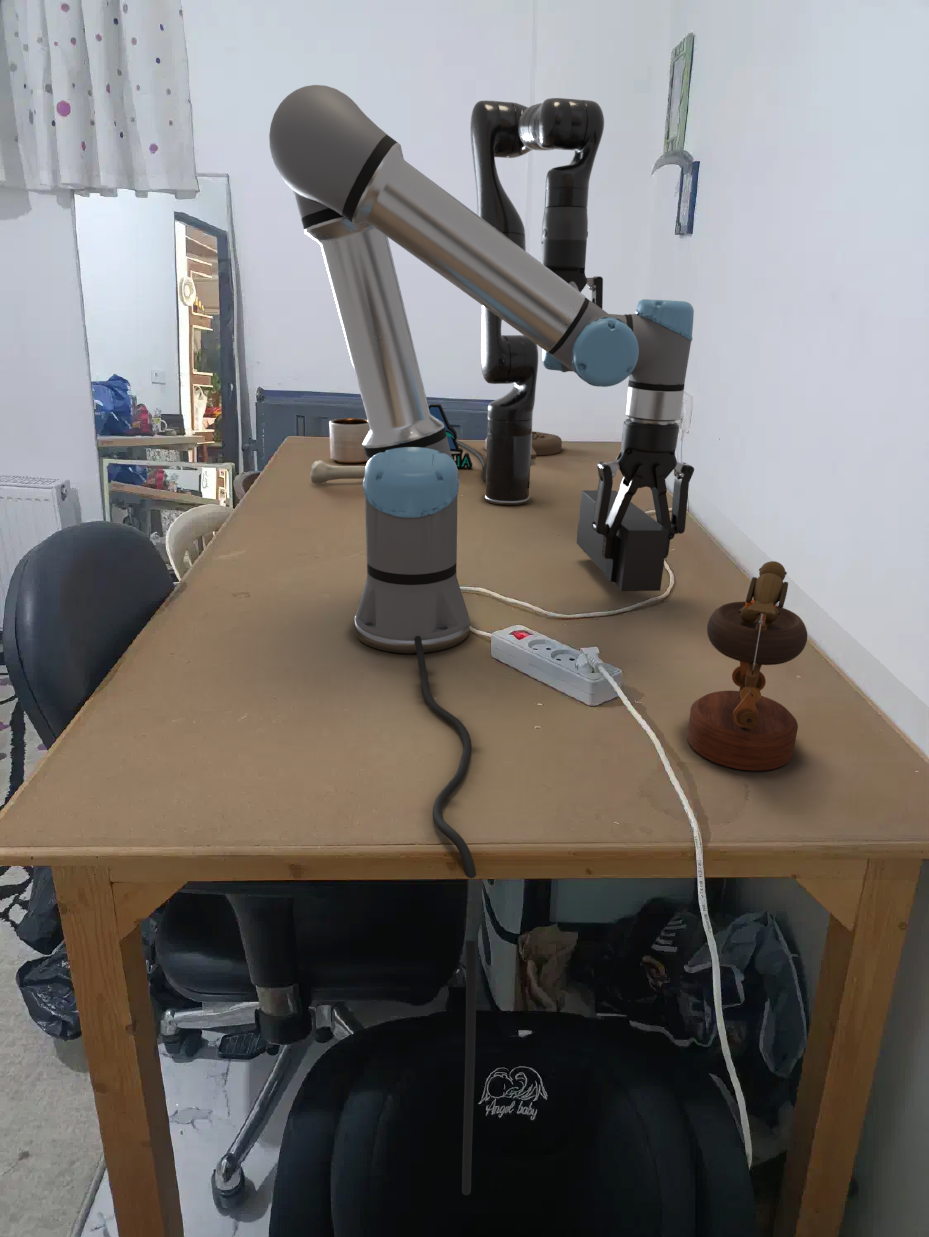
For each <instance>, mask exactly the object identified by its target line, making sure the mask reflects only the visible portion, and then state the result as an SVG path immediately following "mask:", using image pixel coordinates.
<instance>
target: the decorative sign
mask: <svg viewBox="0 0 929 1237" xmlns="http://www.w3.org/2000/svg"><path fill="white" fill-rule="evenodd" d="M428 407H429V411H430V414H431V415H432V416H433V417H435V418H436V419H438V420H440V421H441V422H443V424H444V426H445V431H446V435H447V439H448V443H449V447H450V451H451V456H452V457H453V460H454V462H455V463H456V466H457V469H465V468H466V469H472V468H473V465H474V464H473V462H472V459H471V456H470V454H469V452H465V453H464V449H463V448H462V447H459V446H460V445H458V444H457V441H456V440H458V433H457V431H456V429H455V428H454V427H453V426H451V424H450V423H449V420H448V418H447V416H446V413H445V411H444V409H443V405H442V404H441V403H430V404H428ZM463 453H464V454H463Z"/></svg>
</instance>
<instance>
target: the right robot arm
mask: <svg viewBox="0 0 929 1237" xmlns="http://www.w3.org/2000/svg"><path fill="white" fill-rule="evenodd" d="M603 112H604V111H603V109H602V107H601V105H600V104H599V103H598V102H597V101H594V100H589V99H575V98H563V97H550V98H546V99H545V100H544V101H543V102H540V103H535V104H532V105H530V106H529V107H528V106H526V105H524V104H520V103H518V102H511V101H498V100H479V101H477V102H476V103H475V104H474V106H473V108H472V111H471V115H470V129H469V130H470V145H471V155H472V164H473V172H474V174H473V175H474V181H475V191H476V209H477V210H476V212H477V213H476V214H477V215H478V216H479V217H481V218H482V219H483V220H485V221H486V222H487V223H489V224H490V225H491V226H493V227H494V228H495V229H497V230H498V231H499V232H501V233H502V234H503V235H505V236H506V237H507V238H509V239H510V240H511V241H513V242H514V243H515V244H517V245H518V246H519V247H521V248H522V249H523V250H525V251H526V252H527V246H526V243H527V242H526V229H525V225H524V222H523V220H522V217H521V216H520V215H521V214H520V213H519V212H518V210H517V208H516V207H515V205H514V204H513V202H512V200H511V199H510V197H509V196H508V194H507V192H506V191H505V189H504V186H503V184H502V182H501V180H500V176H499V173H498V169H497V165H496V158H505V159H514V158H519V157H522V156H524V155H526V154H529V153H530V152H531V151H539V152H540V151H541V152H543V151H554V150H562V151H574V153H573V154H574V155H573V157H572V160H571V161H570V163H568V164H565V165H559V166H555V167H553V168H551V169H549V170H548V171H547V173H546V178H545V188H544V189H545V191H544V209H543V210H544V211H543V217H542V222H541V224H542V225H541V242H540V243H541V244H540V245H541V246H540V263H542V264H543V265H544V266H546V267H547V268H548V269H550V270H551V271H552V272H554V273H555V274H556V275H558V276H559V277H560V278H562V279H563V280H564V281H566V282H567V283H568V284H570V285H571V286H572V287H574V288H575V289H576V290H578V291H579V292H580V293H582V292H583V290H584V289H585V287H586V286H588V290H590V291H591V301H592V302H593V303H595V304H596V305H597V306H599V307H600V308H601V309H603V306H604V305H603V303H604V301H603V300H604V299H603V296H604V294H603V293H604V278H603V277H602V276H601V275H600V276H599V275H595V276H593V277H587V276H586V259H587V246H588V245H587V243H588V237H589V231H588V229H589V217H588V205H589V192H590V191H589V190H590V189H589V188H590V180H591V176H592V171H593V167H594V164H595V160H596V156H597V154H598V150H599V147H600V144H601V141H602V138H603V134H604V129H605V116H604V113H603ZM480 318H481V320H480V322H481V323H480V367H481V374H482V376H483V379H484V381H485V382H486V383H488V384H491V385H502V384H503V385H509V384H513V386H512V388H511V390H510V391H509V392H508V393H506V394H505V395H503V396H501V397H499V398H497V399H495V400H493V401H491V402H489V403H488V405H487V415H486V416H487V417H486V418H487V422H486V438H487V450H486V458H484V456H483V455H481V453H479V451H477V450H476V449H475V448H473V447H471V445H470V446H469V445H468V444H466V443H464V442H462V441H460V440H458V439H456V441H457V444H458V446H460V447H461V448H464V449H466V450H468V451H470V452H471V453H473V455H475V456H476V457H477V458H478V459H479V460H480V462H481V465H482V474H481V477H482V479H483V481H484V483H485V494H484V500H485V502H487V503H490V504H494V505H500V506H520V505H524V504H527V503H529V502H530V486H531V481H532V480H531V462H532V461H531V460H532V459H531V443H532V432H533V417H534V416H533V415H534V414H533V413H534V408H535V403H536V391H537V390H536V389H537V380H538V371H539V348H538V347H539V346H538V345H537V344H535V343H534V342H533V341H531V340H530V339H529V338H527V337H526V336H524V335H523V334H502V323H503V320H502V319H501V318H499V317H498V316H497V315H495V314H494V313H493V312H491V311H490V310H488V309H487V308H486V307H484V306H483V305H481V316H480ZM485 459H486V461H485Z"/></svg>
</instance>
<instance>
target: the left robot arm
mask: <svg viewBox="0 0 929 1237" xmlns="http://www.w3.org/2000/svg"><path fill="white" fill-rule="evenodd" d="M268 139H269V140H268V141H269V151H270V156H271V159H272V162H273V165H274V167H275V169H276V171H277V173H278V175H279V176H280V178H281V179H282V180H283V182H284V183H285V184H286V185H287V186H288V187H289V188H290V189H291V190H292V192H293V195H294V200H295V202H296V207H297V210H298V214H299V218H300V220H301V224H302V227H303V231H304V234H305V235H307V236H308V237H309V238H311V239H312V240H314V241H316V242H317V243H318V244H319V245H320V247H321V252H322V256H323V259H324V260H323V261H324V264H325V267H326V271H327V274H328V278H329V279H328V280H329V282H330V285H331V289H332V293H333V297H334V301H335V304H336V305H335V306H336V308H337V312H338V316H339V319H340V324H341V326H342V330H343V334H344V337H345V341H346V345H347V349H348V353H349V356H350V361H351V364H352V367H353V371H354V375H355V379H356V382H357V386H358V389H359V394H360V397H361V402H362V405H363V408H364V412H365V416H366V419H367V420H368V423H369V427H370V431H369V433H368V435H367V437H366V438H365V440H364V442H363V447H364V451H365V454H366V458H367V462H366V465H365V466H366V467H365V477H364V479H362V480H363V481H362V490H363V493H364V502H365V504H364V505H365V508H364V509H365V541H366V542H365V543H366V544H365V545H366V547H365V548H366V579H365V584H364V586H363V589H362V592H361V596H360V600H359V602H358V606H357V609H356V612H355V615H354V633H355V636H356V638H357V639H358V640H359V641H360V642H362V643H363V644H365V645H367V646H368V647H371V648H374V649H377V650H380V651H384V652H390V653H396V654H397V653H398V654H416V657H417V663H418V670H419V676H420V682H421V691H422V695H423V697H424V700H425V702H426V703H427V705H428V706H429V707H430V709H431V710H432V711H433V712H434V713H435V714H436V715H438V716H439V717H441V718H442V719H443V720H445V721H447V722H448V723H449V724H450V725H452V726H453V727H454V728H455V729H456V730H457V732H458V733H459V735H460V737H461V740H462V753H461V758H460V761H459V765H458V768H457V770H456V773H455V774H454V775H453V777H452V778H451V779H450V781H449V782H448V783H447V784H446V785H445V786H444V787H443V788H442V789H441V791H440V792H439V793H438V795H437V796H436V798H435V800H434V803H433V806H432V820H433V822H434V824H435V826H436V828H437V829H438V830H439V831H440V832H441V833H442V834H443V835H444V836H445V837H446V838H447V839H448V840H450V842H451V843H453V845H454V846H455V847H456V849H457V850H458V853H459V855H460V858H461V860H462V864H463V870H464V873H465V876H466V877H467V878H468V879H474V878H475V877H476V876H477V872H476V867H475V862H474V859H473V855H472V853H471V851H470V848H469V846H468V844H467V842H466V841H465V840H464V839H463V837H462V836H461V834H460V833H458V832H457V831H456V830H455V829H454V828H453V827H451V825H450V824H448V823H447V822H446V821H445V819H444V817H443V808H444V805H445V803H446V801H447V799H449V797H450V796H451V795H452V794H453V792H454V791H455V790H456V789H457V787H458V786H459V785H460V784H461V783H462V781H463V780H464V778H465V776H466V774H467V771H468V768H469V764H470V761H471V755H472V748H473V746H472V739H471V736H470V733H469V731H468V729H467V728H466V726H465V725H464V724H463V722H462V721H461V720H460V719H459V718H457V717H456V716H455V715H453V714H452V713H451V712H449V711H448V710H446V709H444V708H443V707H442V706H441V705H440V704H438V702H436V700H435V699H434V697H433V695H432V692H431V688H430V680H429V676H428V670H427V665H426V659H425V653H433V652H439V651H443V650H446V649H449V648H452V647H455V646H457V645H458V644H460V643H462V642H463V641H464V640H466V639H467V637H468V636H469V634H470V615H469V612H468V608H467V606H466V601H465V599H464V596H463V593H462V589H461V586H460V583H459V581H458V577H457V561H458V560H457V559H458V558H457V557H458V556H457V554H458V493H459V490H460V475H459V474H460V473H459V470H458V469H459V468H457V466H456V463H455V462H454V461H455V459H454V460H453V457H452V456H451V451H450V447H449V443H448V439H447V435H446V431H445V426H444V424H443V422H441V421H440V420H438V419H436V418H435V417H433V416H432V415H431V414H430V411H429V403H428V399H427V393H426V390H425V386H424V382H423V378H422V374H421V370H420V366H419V361H418V357H417V352H416V349H415V344H414V341H413V336H412V333H411V328H410V324H409V319H408V315H407V311H406V307H405V303H404V299H403V295H402V290H401V287H400V281H399V278H398V274H397V270H396V265H395V261H394V258H393V253H392V250H391V244H390V242H389V239H390V240H391V241H393V242H394V243H396V245H398V246H399V247H400V248H403V250H405V251H407V252H408V253H409V254H411V255H412V256H413V257H415V258H416V259H417V260H419V261H420V262H422V263H423V264H424V265H426V266H427V267H429V268H430V269H431V270H433V271H434V272H435V273H436V274H439V275H440V276H441V277H442V278H444V279H445V280H447V281H448V282H449V283H451V284H452V285H454V286H455V287H456V288H458V289H459V290H461V291H462V292H463V293H465V294H466V295H468V296H469V297H470V298H472V299H473V300H474V301H476V302H477V303H479V304H480V305H481V306H482V305H483V306H484V307H486V308H487V309H488V310H490V311H491V312H493V313H494V314H495V315H497V316H498V317H499V318H501V319H502V321H503V322H504V323H506V324H508V325H509V326H511V327H512V328H513V329H515V330H516V331H518V332H519V333H520V334H521V335H524V336H526V337H527V338H529V339H530V340H531V341H533V342H534V343H535V344H537V347H539V348H541V359H542V365H543V367H544V369H547V370H548V371H549V370H550V371H559V372H561V373H568V372H571V373H572V372H573V373H575V374H576V375H577V376H578V378H580V380H582V381H584V382H585V383H586V384H588V385H590V386H591V387H592V386H593V387H598V388H599V387H601V388H608V387H613V386H617V385H618V384H620V383H622V382H624V381H625V380H626V379H627V378H628V382H627V383H628V384H627V391H626V392H627V393H626V399H625V400H626V401H625V408H624V410H625V411H624V414H625V416H626V417H628V418H626V419H625V420H624V421H623V424H622V425H623V426H622V435H621V443H620V444H621V445H620V451H619V454H618V455H617V457H616V458H615V460H612V461H608V462H604V461H599V462H598V463H597V465H596V467H597V474H598V478H599V479H598V483H597V496H596V502H595V508H594V514H593V520H592V528H593V529H594V530H595V531H596V532H597V533H598V534H602V535H603V545H602V556H603V557H604V558H605V559H607V562H606V571H605V573H604V577H605V578H606V579H607V580H608V581H609V582H610V583H613V582H616V574H617V566H618V558H619V549H620V541H621V539H620V538H619V537H618V536H616V534H617V532H618V530H619V527H620V525H621V523H622V520H623V518H624V516H625V513H626V511H627V509H628V506H629V504H630V502H632V499H633V496H634V495H636V493H637V491H638V489H643V488H650V491H651V495H652V501H653V506H654V513H655V517H656V519H655V520H656V521H657V522H658V523H659V524H661V525H662V526H663V527H665V528H666V529H667V530H669V532H668V539H667V546H666V553H665V559H667V558H668V556H669V553H670V552H669V550H670V544H671V540H673V539H674V538H675V535H681V534H684V532H685V531H686V524H687V523H686V521H687V512H688V500H689V499H688V498H689V487H690V482H691V479H692V477H693V476H694V472H695V468H694V466H693V465H690V464H688V463H686V462H679V461H678V460H677V457H676V451H677V450H676V449H677V445H678V438H679V431H680V425H679V424H678V422H676V421H679V420H680V419H681V416H682V410H683V404H684V403H683V401H684V394H685V383H686V376H687V369H688V364H689V357H690V352H691V346H692V342H693V327H694V316H695V314H694V313H695V310H694V307H693V305H692V304H691V303H690V302H689V301H685V300H673V299H671V300H669V299H651V298H650V299H647V298H643V299H641V300H639V301H638V302H637V305H636V309H635V310H634V313H629V314H627V313H626V314H625V313H624V314H615V313H608V312H606V311H605V310H604V308H602V309H601V308H600V307H599V306H597V305H596V304H595V303H593V302H592V300H590V299H589V298H587V297H586V295H584V294H583V293H582V292H581V293H580V292H579V291H578V290H576V289H575V288H574V287H572V286H571V285H570V284H568V283H567V282H566V281H564V280H563V279H562V278H560V277H559V276H558V275H556V274H555V273H554V272H552V271H551V270H550V269H548V268H547V267H546V266H544V265H543V264H542V263H541V261H539V259H537V258H536V257H534V256H533V255H531V253H529V252H527V250H526V251H525V250H523V249H522V248H521V247H519V246H518V245H517V244H515V243H514V242H513V241H511V240H510V239H509V238H507V237H506V236H505V235H503V234H502V233H501V232H499V231H498V230H497V229H495V228H494V227H493V226H491V225H490V224H489V223H487V222H486V221H485V220H483V219H482V218H481V217H479V216H478V215H477V213H475V212H474V211H473V210H472V209H470V208H469V207H467V205H465V204H464V203H463V202H461V201H459V199H457V198H456V197H454V196H453V195H452V194H450V193H449V192H448V191H447V190H445V189H444V188H442V187H441V186H440V185H438V184H437V183H436V182H434V181H433V180H432V179H430V178H429V177H428V176H427V175H425V174H424V173H423V172H421V171H420V170H418V169H417V168H416V167H415V166H413V165H412V164H410V163H409V162H408V161H406V159H405V158H404V154H403V149H402V145H401V143H400V142H398V141H396V140H395V139H394V138H392V136H390V135H389V134H388V133H387V132H385V131H384V130H383V129H382V128H380V127H379V126H378V125H377V124H376V123H375V122H374V121H373V120H372V119H370V117H368V116H367V115H366V114H365V113H364V111H363V110H362V109H361V108H360V107H359V105H358V104H357V103H356V102H355V101H354V100H353V99H352V98H351V97H350V96H348V95H347V94H346V93H344V92H342V91H340V90H339V89H337V88H335V87H332V86H328V85H323V84H312V85H305V86H302V87H299V88H297V89H296V90H294V91H292V92H291V93H289V94H288V95H286V96H285V98H284V99H283V100H282V101H281V102H280V103H279V105H278V106H277V108H276V110H275V111H274V114H273V116H272V119H271V123H270V127H269V135H268ZM618 470H619V471H620V473H621V475H622V476H623V477H622V479H621V482H620V484H619V490H618V491H617V492H618V495H617V497H616V499H615V502H614V504H613V507H612V509H611V511H610V514H609V516H608V518H607V514H608V508H609V502H610V497H611V491H613V484H614V482H613V481H614V479H613V478H615V477H616V474H617V471H618ZM672 472H673V476H674V479H673V480H674V481H673V489H672V490H673V492H672V501H671V502H672V504H671V515H670V509H669V508H670V507H669V502H668V497H667V492H668V489H667V483H666V480H667V478H668V477H669V476H670V474H672ZM606 520H607V521H606ZM476 1022H477V941H476V940H465V1046H464V1048H465V1049H464V1051H465V1054H464V1055H465V1056H464V1091H463V1092H464V1093H463V1094H464V1095H463V1124H462V1126H463V1128H462V1162H461V1164H462V1165H461V1166H462V1168H461V1169H462V1170H461V1178H462V1180H461V1192H462V1195H464V1196H469V1195H470V1194H471V1193H472V1192H471V1191H472V1163H473V1162H472V1157H473V1129H474V1128H473V1127H474V1098H475V1097H474V1096H475V1071H476V1070H475V1068H476V1032H477V1030H476V1029H477V1028H476V1026H477V1024H476Z"/></svg>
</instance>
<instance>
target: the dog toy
mask: <svg viewBox="0 0 929 1237" xmlns="http://www.w3.org/2000/svg"><path fill="white" fill-rule="evenodd" d="M365 467H366V465H332V464H328V463H326V462H325V461H323V460H316V461H314V462H313V463H312V465H311V467H310V475H309V476H310V480H311V483H313V484H317V485H319V484H324V483H326V482H328V481H335V480H349V479H350V480H351V479H352V480H353V479H354V480H356V479H358V480H361V479H362V480H364V477H365Z"/></svg>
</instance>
